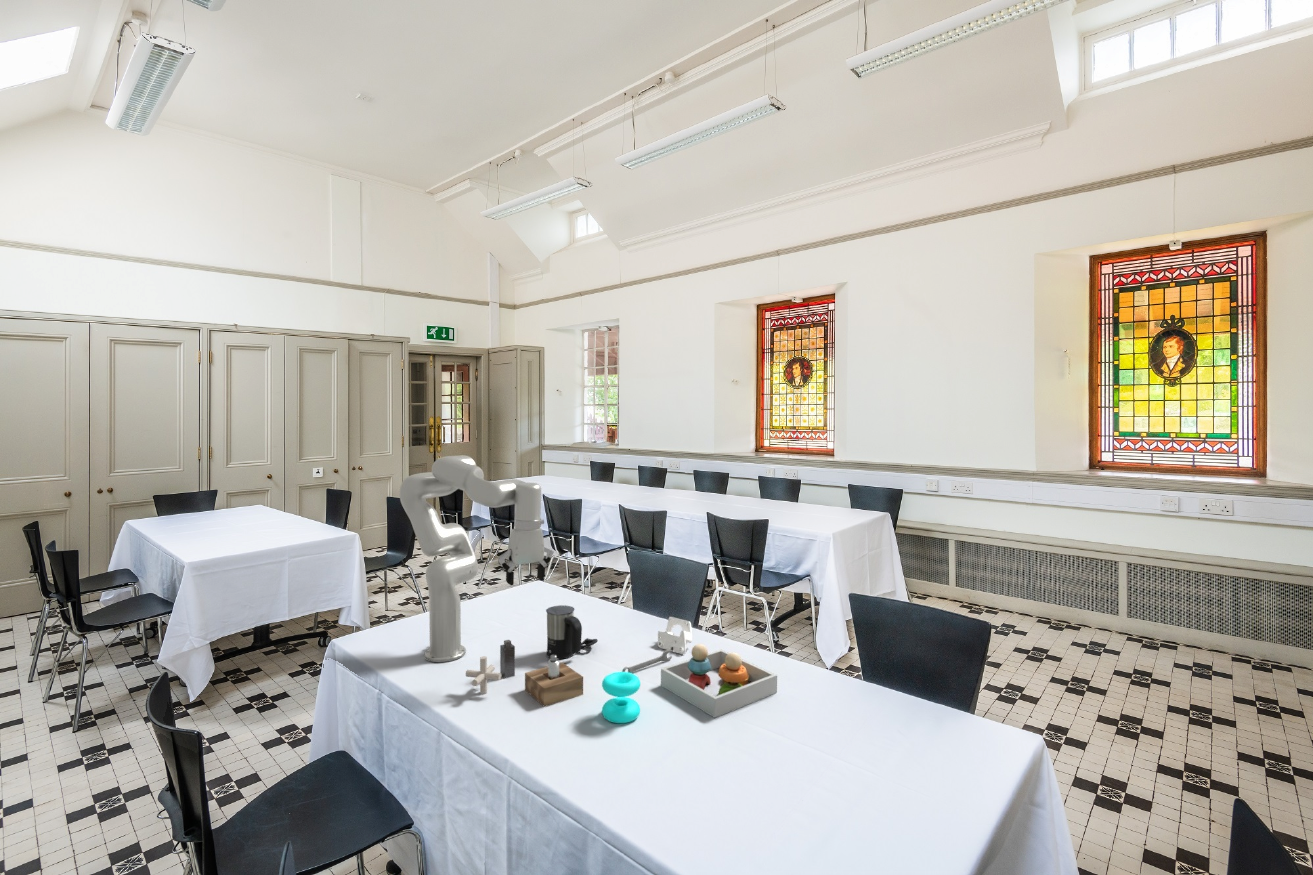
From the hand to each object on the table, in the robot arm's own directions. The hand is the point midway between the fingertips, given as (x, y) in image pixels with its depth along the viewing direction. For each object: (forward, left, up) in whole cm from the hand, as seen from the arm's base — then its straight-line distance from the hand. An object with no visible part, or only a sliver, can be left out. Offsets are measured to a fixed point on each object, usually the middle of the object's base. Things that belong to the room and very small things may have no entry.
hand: (525, 581), depth 179 cm
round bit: (+14, +2, -29) cm, 32 cm away
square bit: (-4, -4, -29) cm, 29 cm away
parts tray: (+40, +41, -29) cm, 64 cm away
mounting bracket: (+9, +51, -29) cm, 59 cm away
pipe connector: (+3, -14, -29) cm, 32 cm away
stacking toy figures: (+39, +42, -29) cm, 65 cm away
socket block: (+14, +2, -29) cm, 32 cm away
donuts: (+36, +10, -29) cm, 47 cm away
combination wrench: (+17, +33, -29) cm, 47 cm away
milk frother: (-8, +21, -29) cm, 36 cm away
